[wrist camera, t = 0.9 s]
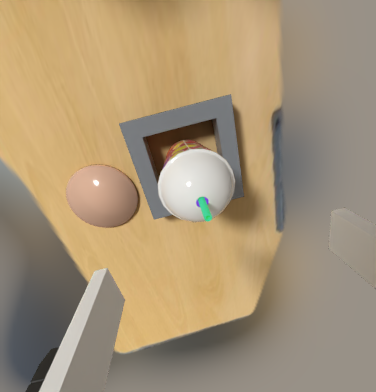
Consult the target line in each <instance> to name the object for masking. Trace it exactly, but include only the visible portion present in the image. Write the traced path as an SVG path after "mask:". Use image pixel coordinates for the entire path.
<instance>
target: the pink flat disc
mask: <svg viewBox="0 0 376 392" xmlns="http://www.w3.org/2000/svg"><path fill="white" fill-rule="evenodd" d="M66 197H67V201H68V204H69V206H70V208H71V209H72V211H73V212H74V213H75V214H76V215H77V216H78V217H79V218H80V219H82V220H83V221H85V222H86V223H89V224H91V225H94V226H98V227H115V226H118V225H121V224H123V223H125V222H126V221H128V220H129V219H130V218H131V217H132V215H133V214H134V212H135V210H136V207H137V203H138V195H137V191H136V188H135V186H134V184H133V183H132V181H131V180H130V179H129V177H127V176H126V175H125V174H124V173H123V172H121V171H120V170H118V169H116V168H113V167H110V166H107V165H90V166H86V167H84V168H82V169H80V170H78V171H77V172H76V173H75V174H74V175H72V177H71V178H70V180H69V182H68V184H67V188H66Z"/></svg>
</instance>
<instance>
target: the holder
mask: <svg viewBox="0 0 376 392" xmlns="http://www.w3.org/2000/svg"><path fill="white" fill-rule="evenodd" d="M211 119H212V123H213V129H214V134H215V140H216V146H217V152H218V154H219V155H220V156H222V157H223V158H224V159H226V160H227V162H228V163H229V165H230V166H231V168H232V169H233V173H234V177H235V189H234V194H233V196H232V198H231V200H232V199H236V198H240V197H244V192H243V185H242V177H241V169H240V161H239V153H238V146H237V138H236V130H235V122H234V114H233V106H232V99H231V94H230V95H226V96H222V97H218V98H215V99H211V100H207V101H203V102H199V103H196V104H192V105H188V106H184V107H180V108H177V109H173V110H169V111H165V112H161V113H158V114H154V115H150V116H146V117H142V118H139V119H135V120H131V121H127V122H123V123H120V124H119V125H120V128H121V131H122V134H123V136H124V139H125V142H126V144H127V147H128V150H129V153H130V155H131V158H132V161H133V164H134V166H135V169H136V172H137V174H138V177H139V180H140V183H141V185H142V188H143V191H144V194H145V196H146V199H147V202H148V205H149V207H150V210H151V213H152V215H153V218H154V219H158V218H162V217H166V216H170V215H172V214H170V213H169V211H168V210H167V209H166V208H165V207H164V206H163V204H162V202H161V200H160V197H159V195H158V181H159V177H158V174H157V171H156V168H155V165H154V161H153V158H152V155H151V152H150V149H149V146H148V143H147V140H146V136H149V135H153V134H157V133H161V132H165V131H169V130H172V129H176V128H180V127H184V126H188V125H191V124H195V123H199V122H203V121H207V120H211Z"/></svg>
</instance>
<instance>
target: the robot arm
mask: <svg viewBox="0 0 376 392" xmlns="http://www.w3.org/2000/svg"><path fill="white" fill-rule="evenodd" d="M328 247H329V249H330V250H331V251H332V252H333V253H334V254H335V255H337V256H338V257H339V258H340V259H341V260H342V261H344V262H345V263H346V264H347V265H348V266H349V267H350V268H352V269H353V270H354V271H355V272H356V273H358V274H359V275H360V276H361V277H362V278H363V279H365V280H366V281H367V282H368V283H369V284H371V285H372V286H373V287H374V288H375V289H376V224H374V223H372V222H370V221H369V220H367V219H365V218H363V217H361V216H359V215H358V214H356V213H354V212H352V211H350V210H348V209H347V208H345V207H344V208H340V209H337V210H332V211H331V221H330V234H329V246H328ZM124 302H125V299H124V297H123V295H122V294H121V292H120V290H119V288H118V286H117V284H116V283H115V281H114V279H113V277H112V275H111V273H110V272H109V270H108V268H105V269H101V270H97V271H94V273H93V275H92V278H91V280H90V282H89V284H88V286H87V289H86V291H85V293H84V295H83V297H82V299H81V302H80V304H79V306H78V308H77V310H76V312H75V315H74V317H73V319H72V321H71V323H70V325H69V328H68V330H67V332H66V334H65V337H64V338H63V341H62V343H61V345H60V347H58V348H54V349H51V350H50V352H49V353H48V354H47V355H46V357H45V358H44V359H43V361H42V362H41V363H40V364H39V366H38V369H37V370H36V373H35V374H34V376H33V378H32V380H31V384H30V385H29V386H28V388H27V390H26V392H104V389H105V384H106V380H107V375H108V372H109V367H110V363H111V358H112V353H113V350H114V345H115V341H116V337H117V332H118V328H119V324H120V319H121V315H122V311H123V306H124Z"/></svg>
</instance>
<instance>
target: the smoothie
mask: <svg viewBox="0 0 376 392" xmlns="http://www.w3.org/2000/svg"><path fill="white" fill-rule="evenodd" d="M234 189H235V177H234V173H233V169H232V168H231V166H230V165H229V163H228V162H227V160H226V159H224V158H223V157H222V156H220V155H219V154H218V153H216V152H213V151H211V150H210V149H208V148H206V147H204V146H203V145H201V144H199V143H198V142H196V141H193V140H181V141H179V142H176V143H175V144H174V145H173V146H172V147H171V148H170V150H169V151H168V153H167V156H166V160H165V163H164V166H163V169H162V171H161V173H160V177H159V181H158V195H159V197H160V200H161V202H162V204H163V206H164V207H165V208H166V209H167V210H168V211H169V213H170V214H172V215H174V216H175V217H177V218H179V219H182V220H186V221H190V222H204V221H210V220H211V219H213V218H215V217H216V216H218V215H219V214H221V213H222V211H223V210H224V209H225V208H226V207H227V205H228V204H229V203H230V201H231V198H232V196H233V194H234Z"/></svg>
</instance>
